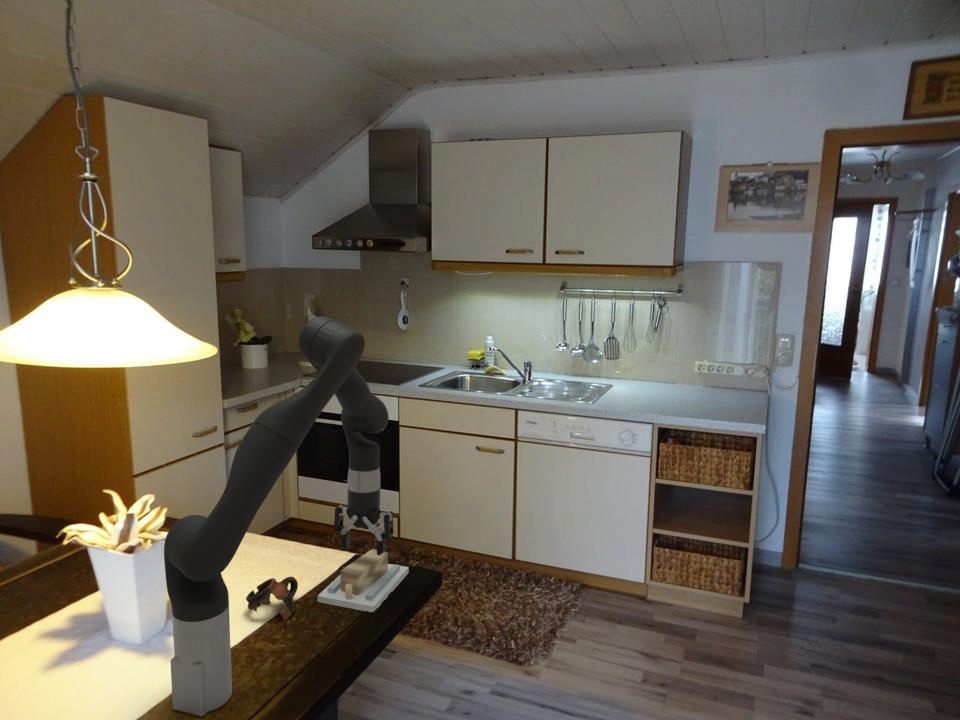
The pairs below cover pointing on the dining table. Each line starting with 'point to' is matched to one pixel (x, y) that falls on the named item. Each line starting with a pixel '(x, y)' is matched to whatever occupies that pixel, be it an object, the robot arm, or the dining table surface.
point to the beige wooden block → (364, 571)
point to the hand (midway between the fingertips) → (363, 551)
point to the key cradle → (368, 597)
